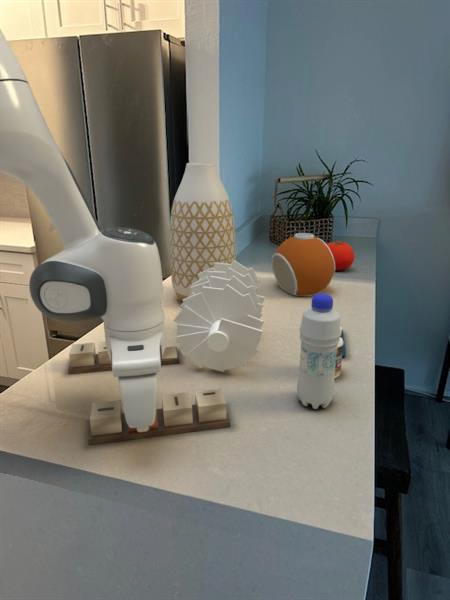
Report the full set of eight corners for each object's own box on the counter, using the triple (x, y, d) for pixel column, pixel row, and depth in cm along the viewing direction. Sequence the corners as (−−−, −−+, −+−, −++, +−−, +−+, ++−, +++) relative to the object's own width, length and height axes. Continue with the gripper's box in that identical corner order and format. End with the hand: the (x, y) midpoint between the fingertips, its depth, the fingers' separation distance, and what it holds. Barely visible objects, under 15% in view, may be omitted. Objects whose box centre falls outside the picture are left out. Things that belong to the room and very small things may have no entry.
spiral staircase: (196, 394, 85) (210, 335, 108) (278, 364, 81) (275, 310, 104) (151, 318, 80) (176, 273, 103) (237, 281, 75) (243, 243, 98)
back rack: (68, 374, 85) (65, 355, 84) (72, 360, 91) (70, 342, 89) (179, 363, 89) (178, 345, 88) (176, 350, 95) (175, 333, 93)
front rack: (88, 445, 65) (85, 422, 64) (92, 421, 71) (89, 400, 69) (230, 426, 69) (230, 405, 68) (223, 405, 75) (223, 385, 73)
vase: (162, 307, 120) (154, 164, 107) (184, 286, 137) (179, 161, 124) (227, 312, 116) (226, 165, 103) (241, 291, 133) (242, 162, 120)
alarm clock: (343, 295, 129) (349, 238, 123) (293, 303, 122) (296, 243, 116) (308, 277, 145) (311, 226, 139) (262, 284, 139) (263, 230, 133)
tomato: (328, 263, 163) (331, 236, 159) (359, 269, 154) (362, 241, 151) (311, 268, 156) (313, 240, 152) (341, 276, 147) (344, 246, 144)
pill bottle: (326, 383, 81) (330, 335, 78) (304, 371, 86) (307, 325, 82) (346, 374, 85) (351, 328, 81) (324, 363, 89) (327, 319, 86)
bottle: (295, 389, 79) (301, 287, 73) (332, 392, 78) (342, 289, 72) (295, 410, 73) (301, 300, 66) (335, 414, 72) (346, 303, 65)
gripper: (116, 313, 73) (123, 384, 78) (111, 372, 54) (120, 461, 59) (154, 311, 74) (158, 381, 79) (161, 367, 55) (166, 455, 60)
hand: (142, 416), depth 69 cm, fingers open, 5 cm apart
